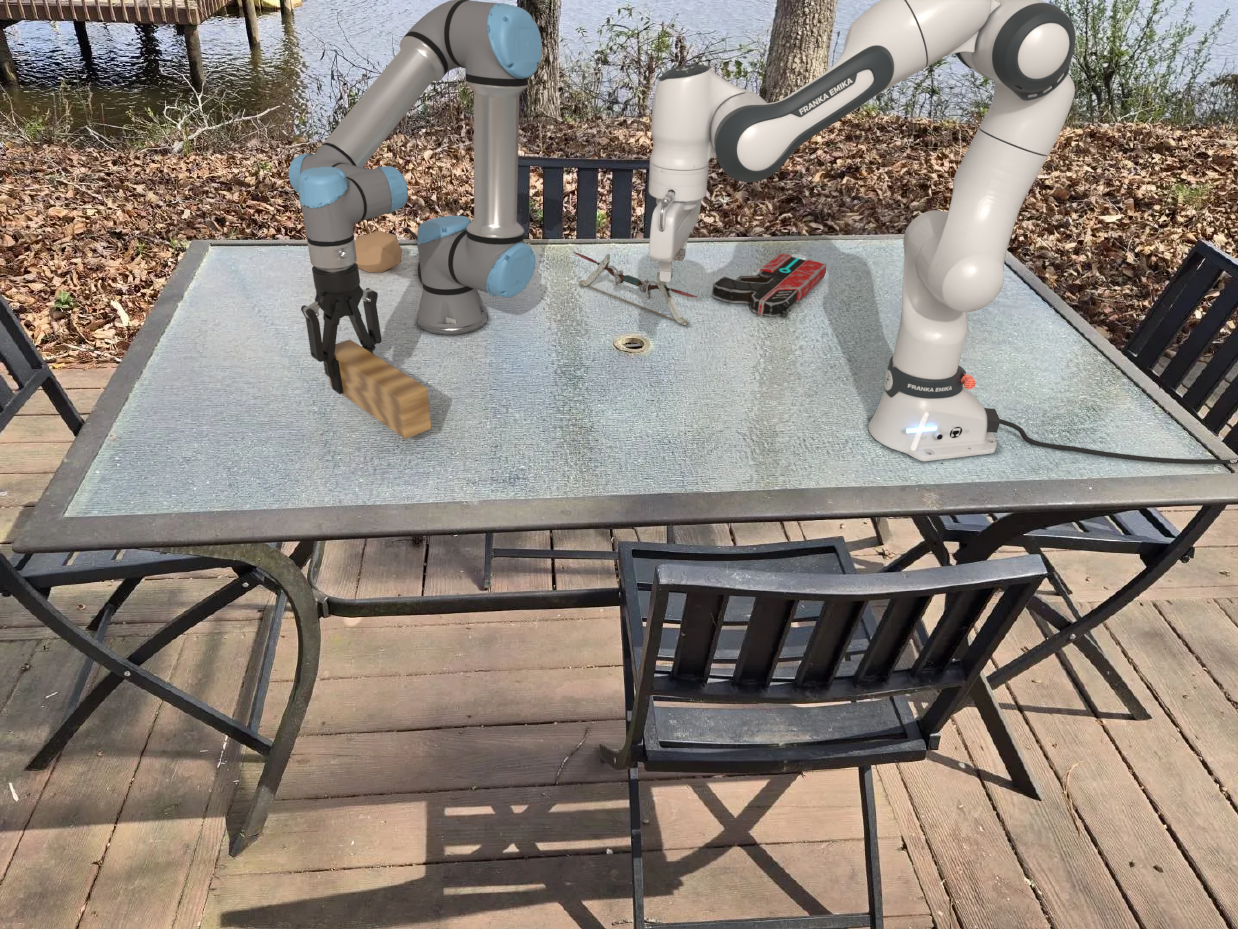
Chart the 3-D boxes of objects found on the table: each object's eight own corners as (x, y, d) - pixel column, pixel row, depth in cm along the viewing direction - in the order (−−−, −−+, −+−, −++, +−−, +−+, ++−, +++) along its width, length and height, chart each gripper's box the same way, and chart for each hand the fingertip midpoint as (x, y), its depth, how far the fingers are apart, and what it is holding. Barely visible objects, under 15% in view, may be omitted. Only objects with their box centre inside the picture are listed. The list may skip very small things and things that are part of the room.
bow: (697, 327, 197) (701, 285, 192) (692, 329, 196) (696, 287, 191) (576, 279, 219) (576, 241, 213) (571, 281, 218) (571, 242, 212)
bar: (330, 386, 162) (323, 347, 157) (355, 377, 165) (350, 339, 160) (405, 439, 147) (400, 398, 143) (431, 428, 150) (427, 388, 146)
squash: (402, 276, 219) (391, 244, 212) (324, 283, 220) (312, 251, 214) (409, 253, 226) (400, 222, 220) (335, 261, 228) (323, 229, 222)
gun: (708, 284, 207) (784, 305, 199) (760, 245, 229) (831, 262, 221) (706, 302, 209) (781, 323, 201) (758, 261, 231) (828, 278, 223)
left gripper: (294, 283, 140) (316, 409, 153) (393, 258, 151) (407, 378, 164) (272, 270, 145) (296, 394, 157) (370, 246, 156) (385, 364, 168)
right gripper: (683, 204, 123) (677, 296, 131) (710, 167, 140) (703, 250, 148) (640, 199, 125) (636, 290, 132) (672, 163, 141) (667, 246, 149)
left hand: (352, 385), depth 161 cm, fingers closed on bar, 5 cm apart
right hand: (672, 269), depth 140 cm, fingers open, 8 cm apart
